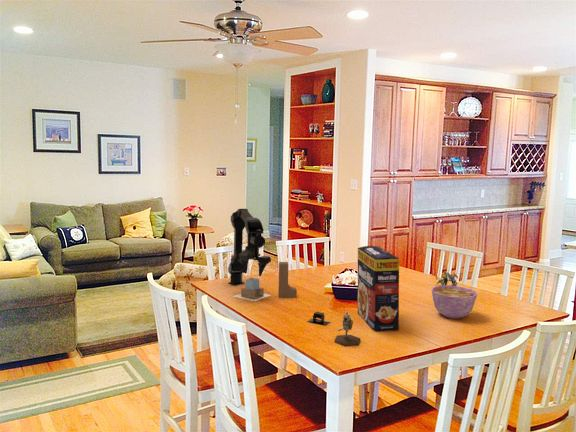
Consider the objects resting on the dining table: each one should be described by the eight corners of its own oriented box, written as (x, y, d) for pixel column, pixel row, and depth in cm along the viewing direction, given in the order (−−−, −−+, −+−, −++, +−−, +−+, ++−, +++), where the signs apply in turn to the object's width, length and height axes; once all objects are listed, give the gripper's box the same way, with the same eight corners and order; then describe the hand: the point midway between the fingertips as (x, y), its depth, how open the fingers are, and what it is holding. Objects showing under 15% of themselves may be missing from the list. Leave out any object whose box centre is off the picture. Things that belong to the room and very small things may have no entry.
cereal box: (356, 312, 232) (356, 244, 228) (379, 311, 233) (380, 243, 229) (374, 333, 206) (374, 257, 201) (400, 331, 207) (401, 255, 203)
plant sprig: (453, 298, 278) (462, 284, 270) (434, 294, 278) (443, 280, 270) (450, 282, 286) (459, 269, 279) (432, 279, 286) (440, 265, 278)
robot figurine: (338, 335, 202) (339, 306, 200) (361, 338, 199) (362, 308, 197) (332, 344, 191) (333, 314, 190) (357, 348, 188) (358, 317, 187)
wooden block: (295, 296, 257) (296, 261, 254) (296, 298, 252) (297, 263, 250) (278, 296, 256) (278, 261, 254) (278, 298, 251) (279, 263, 249)
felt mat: (249, 291, 264) (249, 290, 264) (271, 295, 256) (271, 295, 256) (232, 297, 252) (232, 296, 252) (254, 302, 244) (254, 301, 244)
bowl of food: (421, 311, 234) (422, 287, 233) (454, 307, 242) (455, 284, 241) (450, 325, 216) (452, 299, 215) (485, 319, 224) (487, 294, 223)
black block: (334, 323, 217) (335, 313, 217) (327, 328, 211) (328, 317, 210) (309, 318, 223) (309, 308, 223) (301, 323, 217) (302, 313, 216)
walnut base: (251, 293, 258) (251, 285, 258) (263, 296, 254) (263, 288, 253) (241, 296, 252) (241, 289, 251) (253, 299, 247) (253, 291, 247)
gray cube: (251, 287, 256) (251, 277, 255) (259, 288, 253) (259, 278, 252) (245, 289, 252) (245, 279, 251) (253, 290, 249) (253, 280, 248)
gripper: (228, 244, 248) (228, 274, 250) (258, 248, 238) (257, 280, 239) (242, 241, 257) (242, 271, 259) (271, 245, 247) (271, 276, 248)
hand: (252, 274), depth 251 cm, fingers open, 9 cm apart
